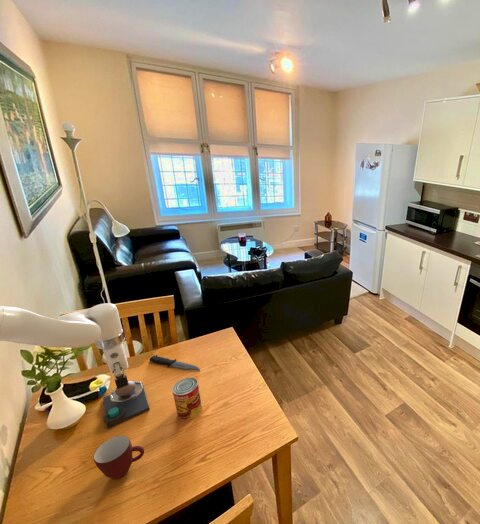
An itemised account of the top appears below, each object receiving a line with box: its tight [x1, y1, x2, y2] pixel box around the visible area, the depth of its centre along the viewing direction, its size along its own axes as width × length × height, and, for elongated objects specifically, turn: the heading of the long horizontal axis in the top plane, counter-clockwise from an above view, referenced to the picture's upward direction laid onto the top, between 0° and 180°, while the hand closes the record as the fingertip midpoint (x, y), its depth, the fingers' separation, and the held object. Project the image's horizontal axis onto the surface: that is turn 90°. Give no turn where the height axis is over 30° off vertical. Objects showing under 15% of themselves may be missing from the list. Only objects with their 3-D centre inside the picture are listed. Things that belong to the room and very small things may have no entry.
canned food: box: [171, 376, 203, 421], centre depth 102 cm, size 8×8×12 cm
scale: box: [103, 382, 151, 430], centre depth 104 cm, size 12×15×3 cm
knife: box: [149, 354, 201, 373], centre depth 124 cm, size 25×2×5 cm
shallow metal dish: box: [109, 380, 144, 404], centre depth 106 cm, size 10×10×1 cm
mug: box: [93, 435, 145, 480], centre depth 83 cm, size 10×8×10 cm
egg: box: [114, 380, 136, 396], centre depth 105 cm, size 6×6×4 cm
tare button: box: [108, 407, 119, 418], centre depth 98 cm, size 3×3×2 cm
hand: (121, 378), depth 103 cm, fingers open, 9 cm apart
